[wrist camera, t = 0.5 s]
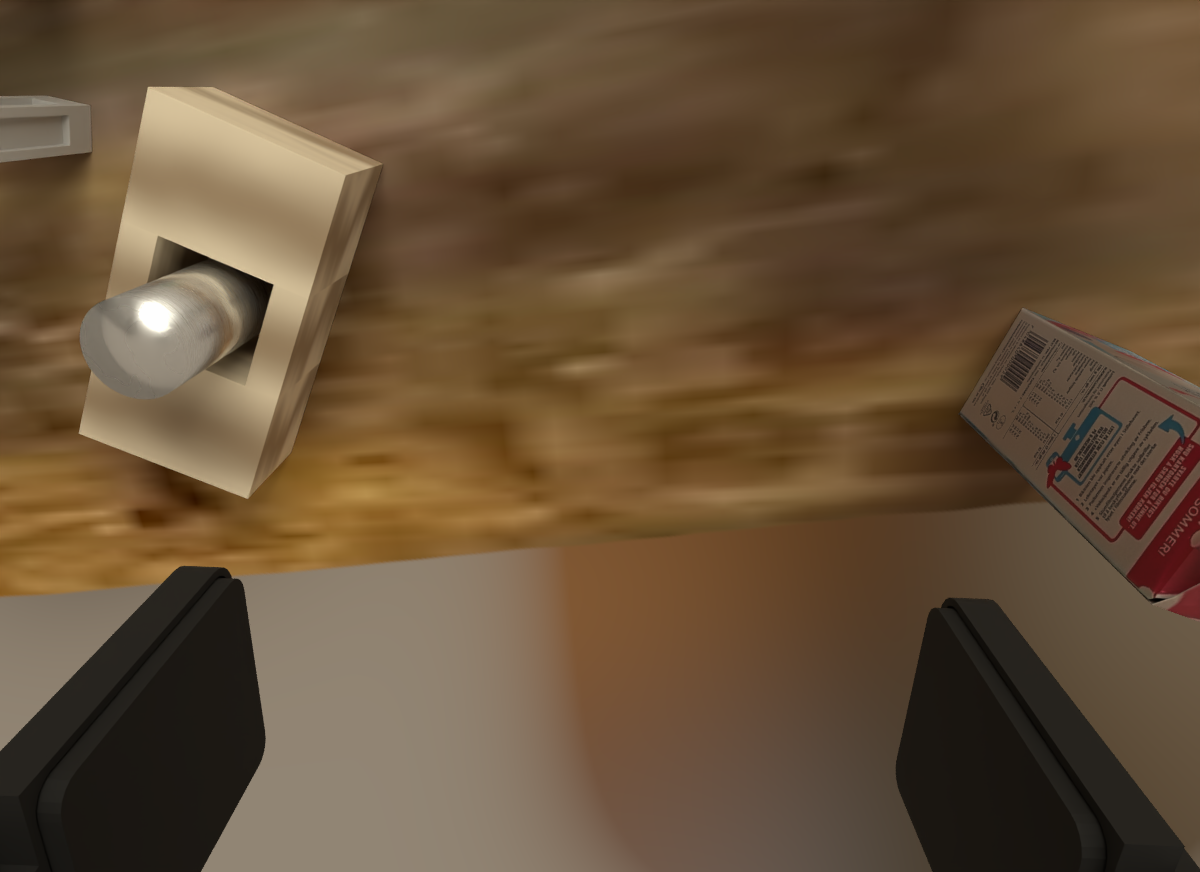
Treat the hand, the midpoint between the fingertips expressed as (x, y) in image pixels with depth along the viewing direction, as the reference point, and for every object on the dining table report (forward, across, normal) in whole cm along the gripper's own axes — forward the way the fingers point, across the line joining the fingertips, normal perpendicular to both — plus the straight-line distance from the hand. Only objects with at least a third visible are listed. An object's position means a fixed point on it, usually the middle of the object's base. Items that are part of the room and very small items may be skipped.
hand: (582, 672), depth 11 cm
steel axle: (+35, +19, +2) cm, 40 cm away
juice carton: (+35, -24, +6) cm, 43 cm away
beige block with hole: (+35, +19, +2) cm, 40 cm away
